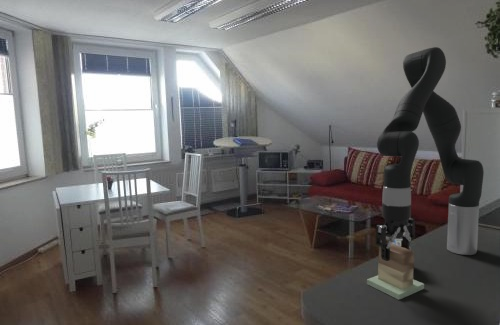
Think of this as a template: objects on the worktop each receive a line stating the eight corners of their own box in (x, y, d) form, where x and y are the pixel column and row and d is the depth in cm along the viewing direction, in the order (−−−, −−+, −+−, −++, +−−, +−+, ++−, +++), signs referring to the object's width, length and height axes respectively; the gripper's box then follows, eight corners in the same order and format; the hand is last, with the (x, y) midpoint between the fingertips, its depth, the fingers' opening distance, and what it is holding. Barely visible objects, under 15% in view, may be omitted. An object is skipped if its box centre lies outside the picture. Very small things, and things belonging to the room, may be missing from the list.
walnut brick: (390, 258, 107) (390, 243, 106) (413, 268, 100) (414, 251, 99) (378, 262, 104) (379, 246, 104) (402, 272, 97) (402, 255, 97)
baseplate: (391, 274, 111) (391, 270, 110) (423, 288, 101) (424, 283, 101) (366, 284, 105) (366, 279, 105) (399, 299, 96) (399, 294, 95)
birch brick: (388, 274, 108) (389, 258, 107) (412, 284, 101) (413, 267, 100) (378, 278, 105) (378, 262, 104) (402, 289, 98) (402, 272, 98)
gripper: (401, 196, 107) (400, 247, 109) (368, 203, 100) (368, 258, 102) (424, 200, 100) (422, 255, 102) (391, 208, 93) (390, 267, 95)
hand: (395, 256), depth 102 cm, fingers open, 8 cm apart
